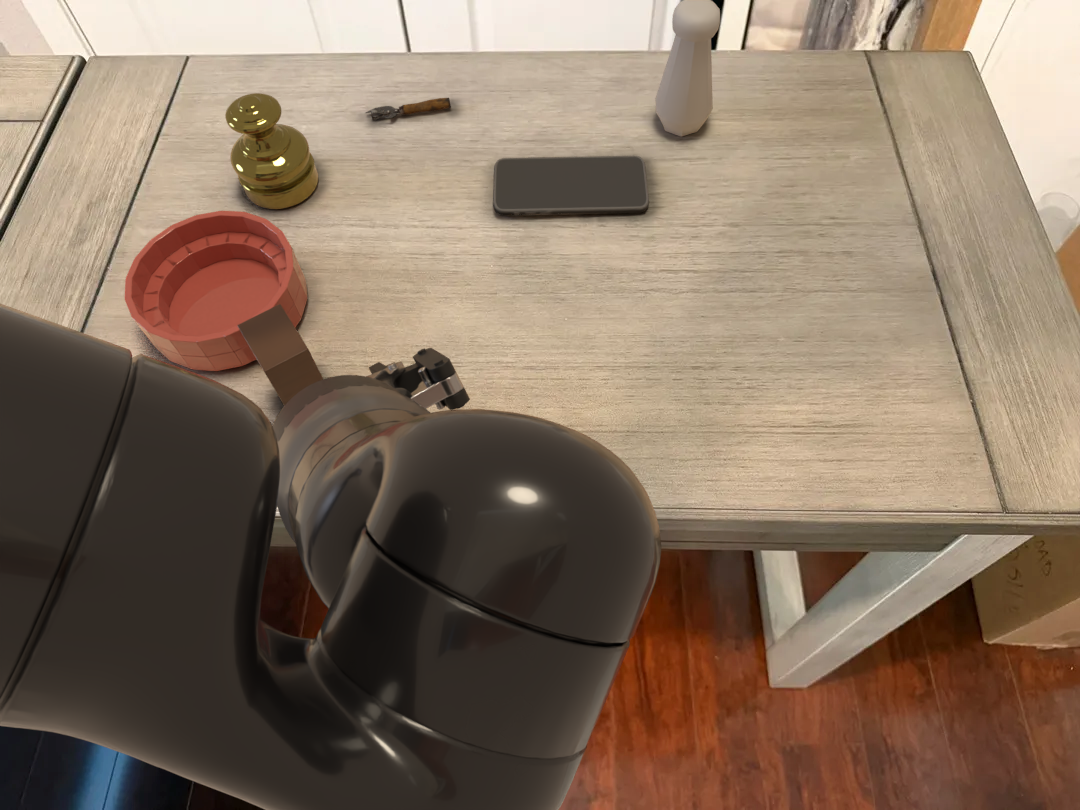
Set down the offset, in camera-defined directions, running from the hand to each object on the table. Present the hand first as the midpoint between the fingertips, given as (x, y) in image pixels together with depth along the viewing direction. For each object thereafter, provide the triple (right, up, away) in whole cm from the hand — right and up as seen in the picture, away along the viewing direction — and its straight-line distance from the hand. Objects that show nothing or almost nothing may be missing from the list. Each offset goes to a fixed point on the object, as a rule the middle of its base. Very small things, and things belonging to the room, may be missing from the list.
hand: (318, 412), depth 50 cm
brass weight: (-12, +23, +32) cm, 41 cm away
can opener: (0, +31, +36) cm, 48 cm away
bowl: (-14, +9, +24) cm, 29 cm away
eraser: (-6, +1, +19) cm, 20 cm away
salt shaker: (+28, +30, +34) cm, 53 cm away
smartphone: (+17, +22, +30) cm, 41 cm away
